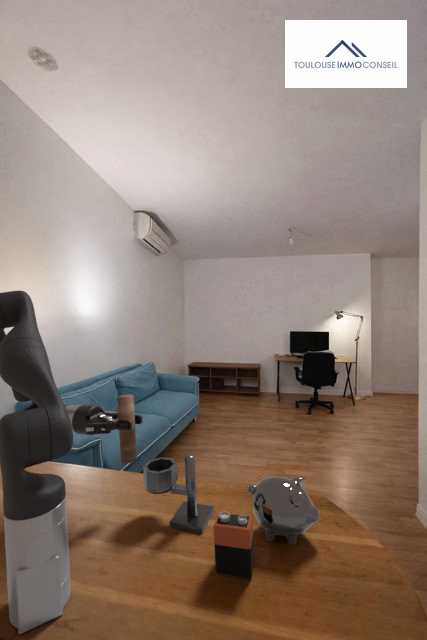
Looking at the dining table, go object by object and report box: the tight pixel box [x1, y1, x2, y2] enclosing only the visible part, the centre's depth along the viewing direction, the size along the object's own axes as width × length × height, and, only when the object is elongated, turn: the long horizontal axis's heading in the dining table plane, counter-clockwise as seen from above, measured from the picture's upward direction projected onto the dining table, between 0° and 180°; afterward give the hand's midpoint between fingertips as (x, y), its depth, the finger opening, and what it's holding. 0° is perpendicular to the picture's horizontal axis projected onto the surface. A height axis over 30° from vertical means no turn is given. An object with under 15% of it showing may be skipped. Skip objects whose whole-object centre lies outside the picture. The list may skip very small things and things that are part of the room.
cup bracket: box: [142, 453, 215, 534], centre depth 74 cm, size 16×8×15 cm, turn 71°
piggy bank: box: [247, 476, 320, 546], centre depth 66 cm, size 11×15×12 cm
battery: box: [213, 511, 255, 580], centre depth 58 cm, size 4×7×10 cm, turn 75°
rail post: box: [116, 394, 138, 464], centre depth 78 cm, size 4×4×16 cm
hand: (136, 422), depth 77 cm, fingers closed on rail post, 4 cm apart
